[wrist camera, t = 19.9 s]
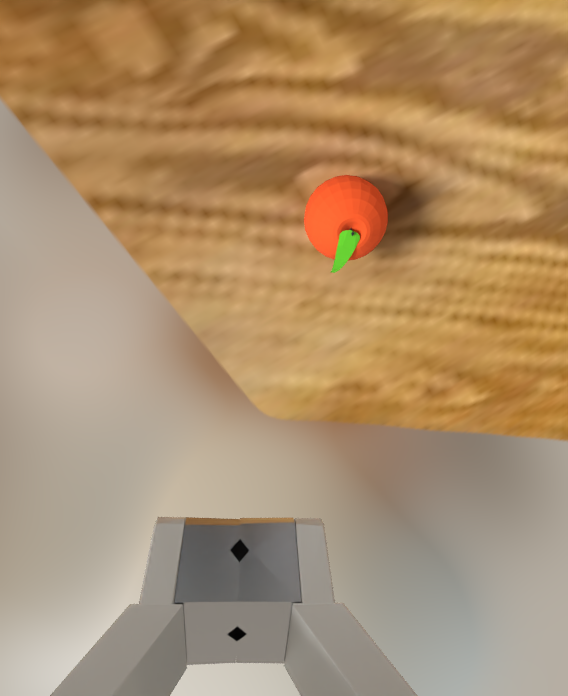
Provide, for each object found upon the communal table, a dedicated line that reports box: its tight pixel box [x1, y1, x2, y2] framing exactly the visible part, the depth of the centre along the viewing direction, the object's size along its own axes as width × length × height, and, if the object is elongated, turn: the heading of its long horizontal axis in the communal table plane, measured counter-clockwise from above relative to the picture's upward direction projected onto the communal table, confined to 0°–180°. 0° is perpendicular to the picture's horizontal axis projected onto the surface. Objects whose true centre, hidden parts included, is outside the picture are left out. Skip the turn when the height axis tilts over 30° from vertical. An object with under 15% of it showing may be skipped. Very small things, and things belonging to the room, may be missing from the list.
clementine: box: [304, 175, 388, 273], centre depth 43 cm, size 8×7×7 cm
